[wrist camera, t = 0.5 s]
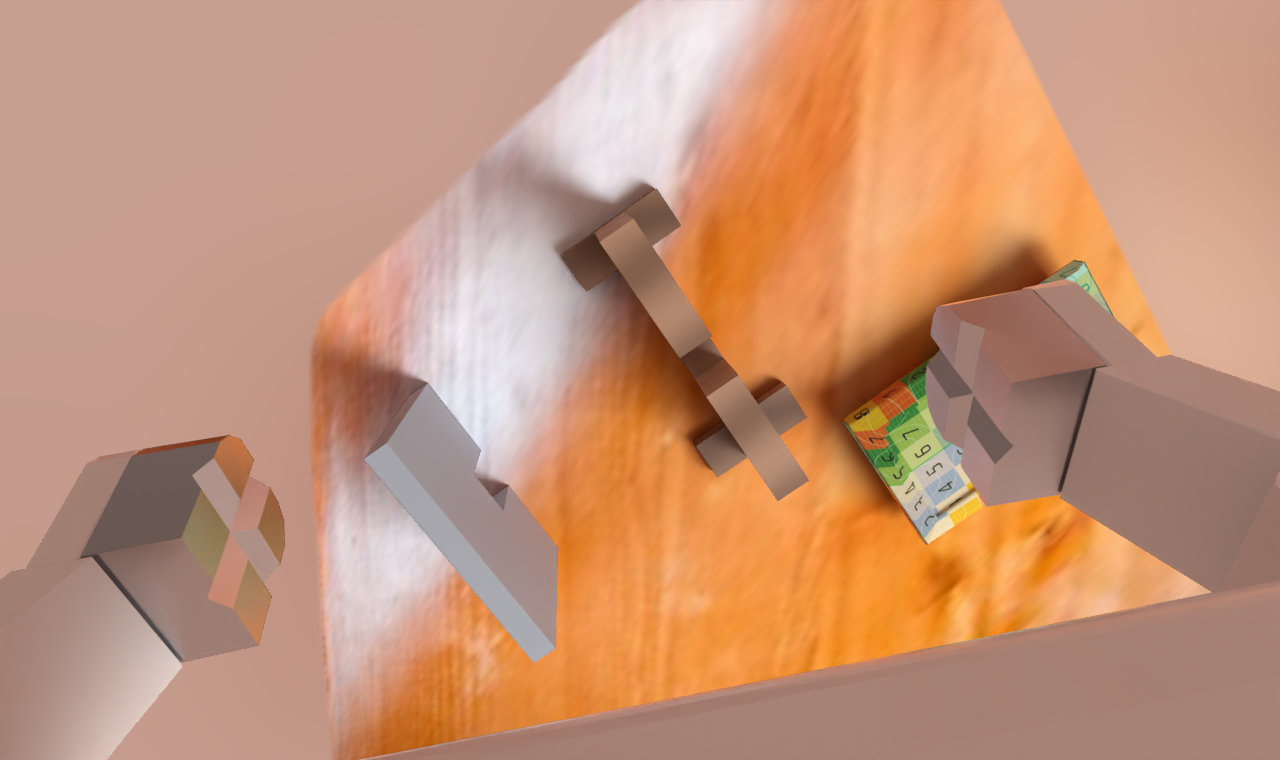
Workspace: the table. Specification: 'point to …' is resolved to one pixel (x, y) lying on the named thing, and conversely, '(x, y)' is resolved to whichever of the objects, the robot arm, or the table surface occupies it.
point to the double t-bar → (693, 345)
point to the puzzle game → (927, 443)
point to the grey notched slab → (471, 518)
